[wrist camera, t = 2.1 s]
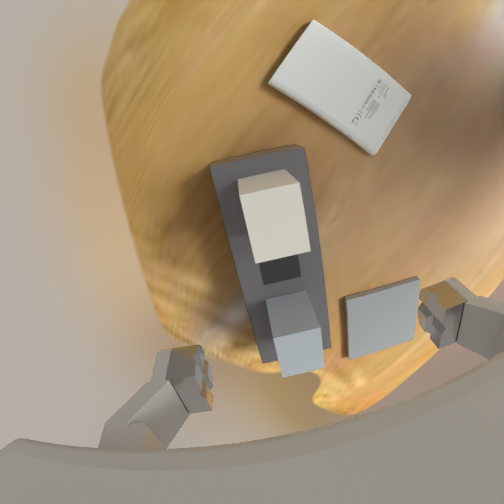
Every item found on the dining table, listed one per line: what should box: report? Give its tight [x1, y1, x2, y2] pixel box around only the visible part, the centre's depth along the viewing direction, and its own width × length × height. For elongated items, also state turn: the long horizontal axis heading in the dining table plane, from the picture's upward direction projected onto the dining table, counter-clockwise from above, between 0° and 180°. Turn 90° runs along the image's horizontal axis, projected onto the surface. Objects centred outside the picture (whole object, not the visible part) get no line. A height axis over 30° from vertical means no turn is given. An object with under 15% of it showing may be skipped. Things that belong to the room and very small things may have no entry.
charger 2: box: [266, 290, 325, 377], centre depth 28 cm, size 4×5×6 cm
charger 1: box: [238, 169, 311, 264], centre depth 24 cm, size 4×5×8 cm
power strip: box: [210, 144, 331, 364], centre depth 30 cm, size 8×22×4 cm, turn 12°
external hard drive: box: [267, 20, 411, 156], centre depth 25 cm, size 2×8×12 cm
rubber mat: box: [345, 276, 420, 360], centre depth 36 cm, size 10×10×1 cm
